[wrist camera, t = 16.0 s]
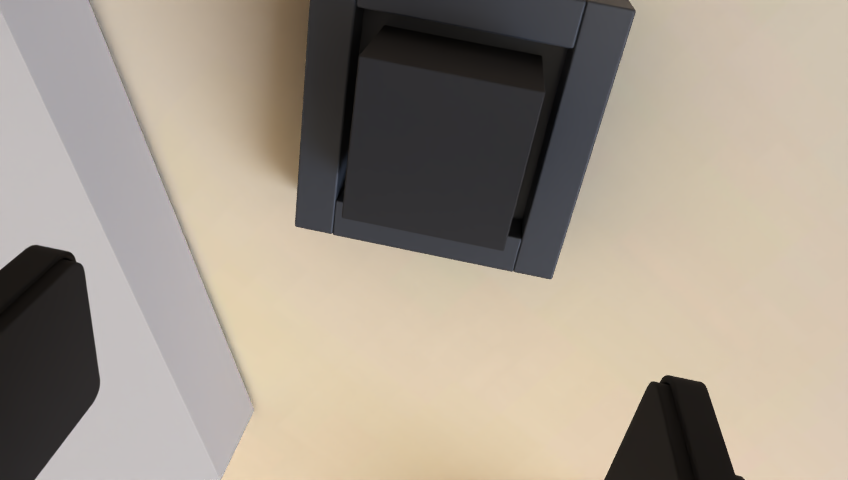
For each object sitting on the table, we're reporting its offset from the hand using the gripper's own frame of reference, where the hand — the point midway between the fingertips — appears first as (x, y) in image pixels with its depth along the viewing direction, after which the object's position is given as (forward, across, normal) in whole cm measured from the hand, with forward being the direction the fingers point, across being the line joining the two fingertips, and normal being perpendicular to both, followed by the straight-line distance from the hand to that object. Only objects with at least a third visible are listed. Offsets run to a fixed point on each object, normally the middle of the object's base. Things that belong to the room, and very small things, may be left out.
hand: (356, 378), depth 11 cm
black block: (+15, 0, +1) cm, 15 cm away
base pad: (+16, 0, +1) cm, 16 cm away
